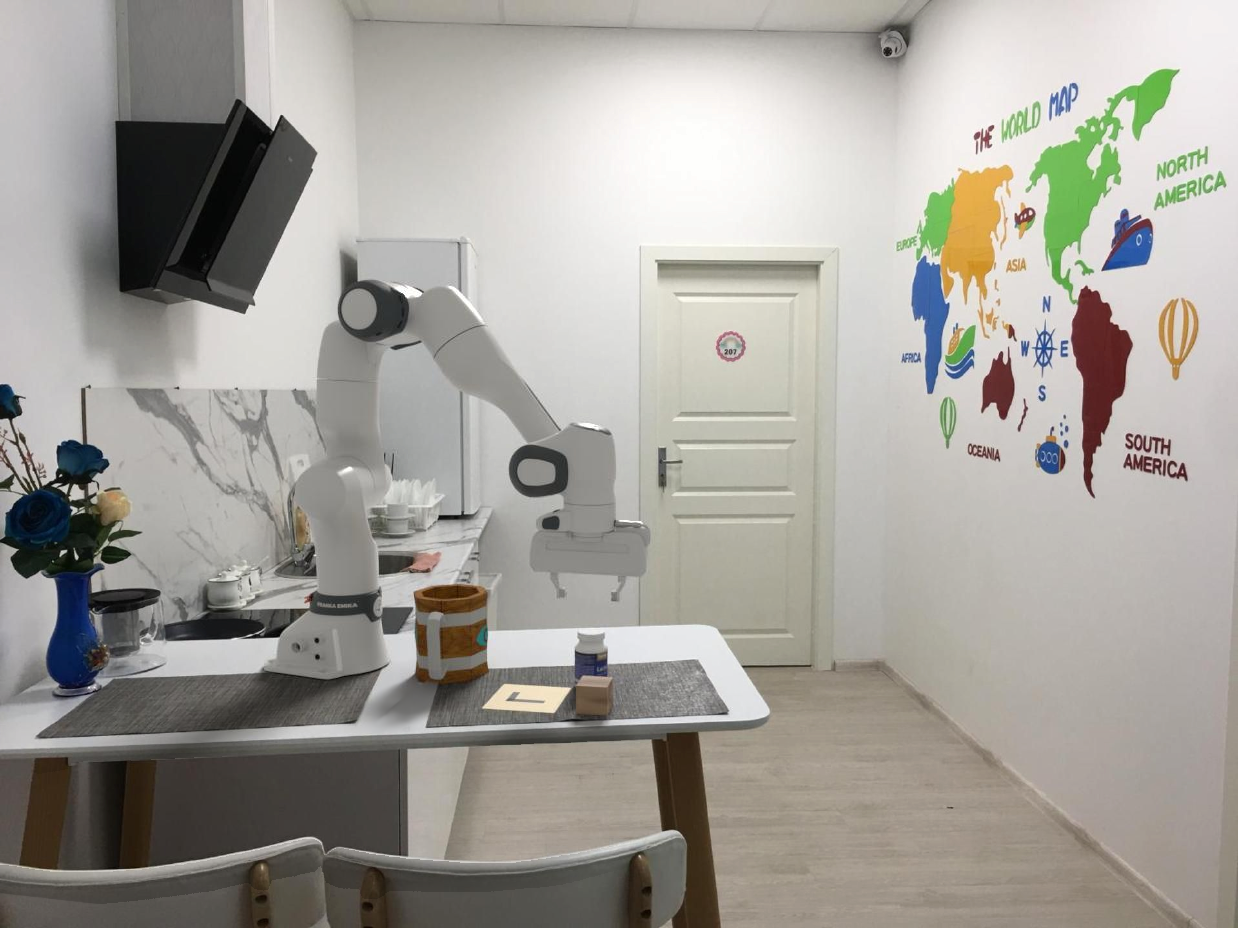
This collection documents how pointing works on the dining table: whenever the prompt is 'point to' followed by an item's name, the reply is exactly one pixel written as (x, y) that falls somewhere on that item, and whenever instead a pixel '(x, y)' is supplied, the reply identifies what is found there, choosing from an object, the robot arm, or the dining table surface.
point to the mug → (451, 633)
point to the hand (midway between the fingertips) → (588, 599)
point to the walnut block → (594, 695)
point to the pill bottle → (591, 654)
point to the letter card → (527, 698)
